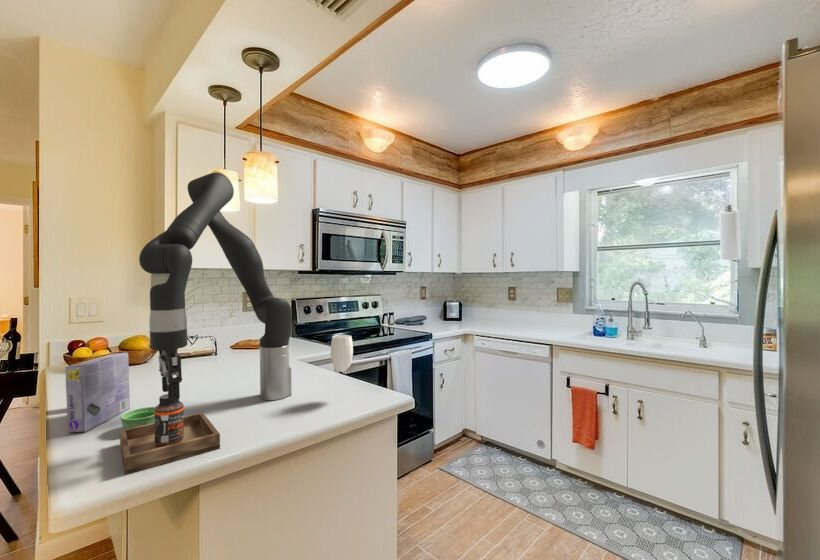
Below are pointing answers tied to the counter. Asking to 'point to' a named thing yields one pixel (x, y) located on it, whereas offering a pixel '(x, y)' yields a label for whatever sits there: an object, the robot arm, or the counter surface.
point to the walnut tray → (147, 454)
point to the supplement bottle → (169, 421)
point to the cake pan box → (97, 391)
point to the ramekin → (138, 417)
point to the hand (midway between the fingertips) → (170, 395)
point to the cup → (341, 352)
